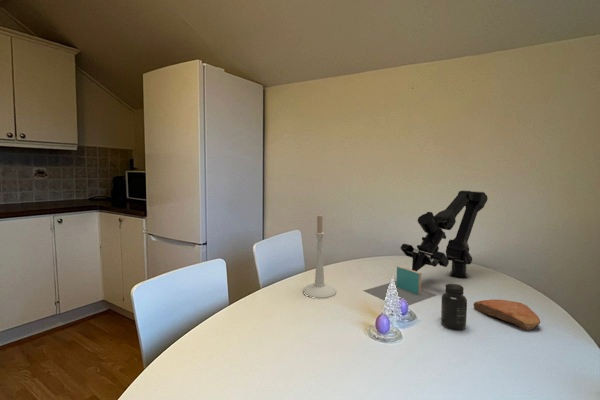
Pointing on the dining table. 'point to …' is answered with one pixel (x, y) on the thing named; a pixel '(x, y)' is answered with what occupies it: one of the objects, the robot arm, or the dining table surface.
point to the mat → (400, 294)
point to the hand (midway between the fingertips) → (413, 271)
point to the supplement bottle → (454, 307)
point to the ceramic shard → (509, 312)
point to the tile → (409, 280)
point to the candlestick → (319, 270)
